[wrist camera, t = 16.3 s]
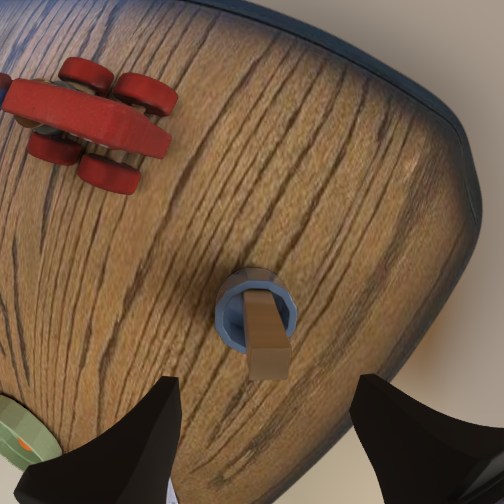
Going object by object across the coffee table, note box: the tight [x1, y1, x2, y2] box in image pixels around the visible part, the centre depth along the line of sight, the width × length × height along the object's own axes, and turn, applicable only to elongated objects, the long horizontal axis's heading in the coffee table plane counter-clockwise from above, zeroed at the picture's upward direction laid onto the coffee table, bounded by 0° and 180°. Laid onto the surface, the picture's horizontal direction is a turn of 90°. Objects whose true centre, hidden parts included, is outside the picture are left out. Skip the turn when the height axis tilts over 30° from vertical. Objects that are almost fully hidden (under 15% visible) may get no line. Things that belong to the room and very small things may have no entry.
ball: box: [18, 437, 32, 451], centre depth 20 cm, size 3×3×3 cm
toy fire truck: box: [0, 57, 178, 195], centre depth 12 cm, size 7×12×10 cm, turn 64°
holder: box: [215, 267, 297, 354], centre depth 19 cm, size 5×5×3 cm
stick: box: [242, 288, 292, 380], centre depth 15 cm, size 2×2×9 cm
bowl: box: [0, 394, 62, 472], centre depth 20 cm, size 12×12×4 cm
